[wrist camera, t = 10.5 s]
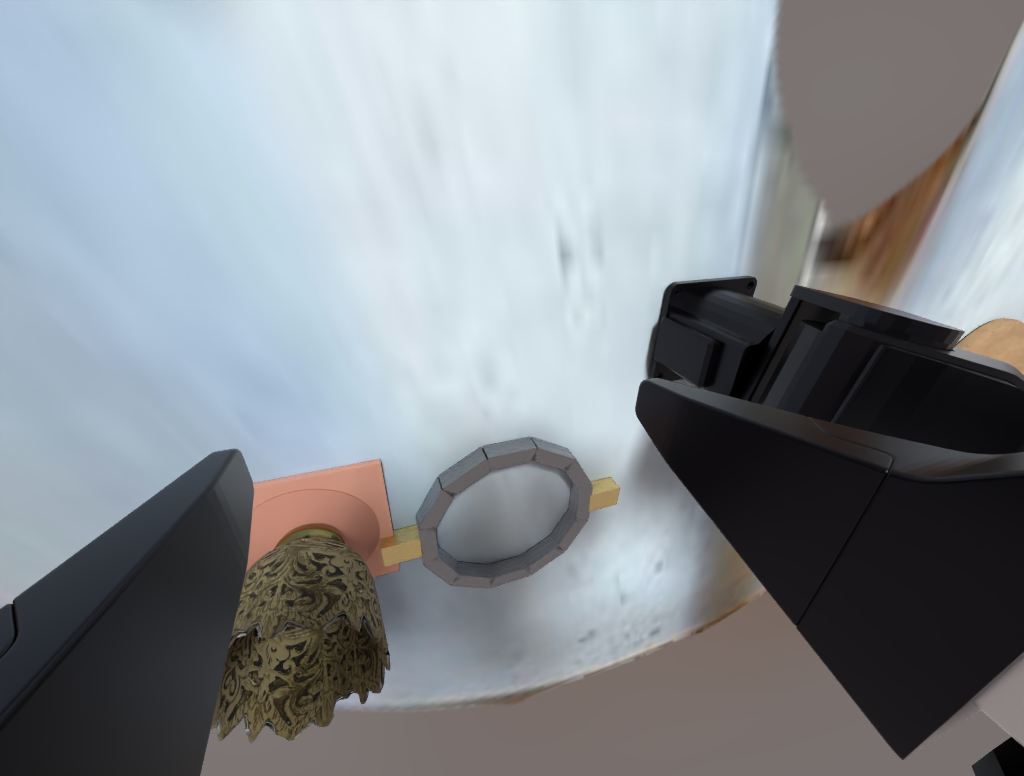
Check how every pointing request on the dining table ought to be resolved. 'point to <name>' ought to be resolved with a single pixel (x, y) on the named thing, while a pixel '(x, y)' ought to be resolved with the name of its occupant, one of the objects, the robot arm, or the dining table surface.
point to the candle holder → (998, 342)
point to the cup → (302, 637)
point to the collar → (465, 473)
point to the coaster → (326, 510)
